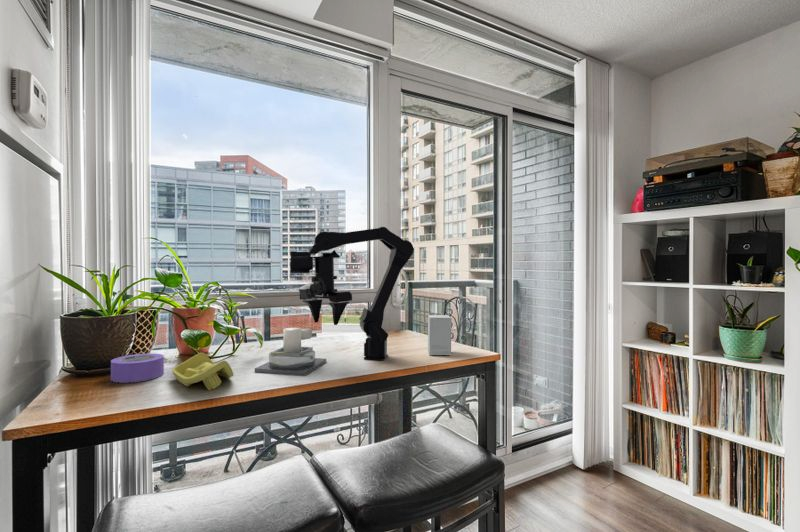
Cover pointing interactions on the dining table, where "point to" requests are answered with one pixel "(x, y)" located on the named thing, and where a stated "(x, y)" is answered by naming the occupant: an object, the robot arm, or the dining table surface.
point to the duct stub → (291, 362)
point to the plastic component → (202, 371)
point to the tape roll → (137, 368)
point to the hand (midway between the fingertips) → (325, 323)
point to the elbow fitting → (294, 339)
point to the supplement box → (439, 334)
